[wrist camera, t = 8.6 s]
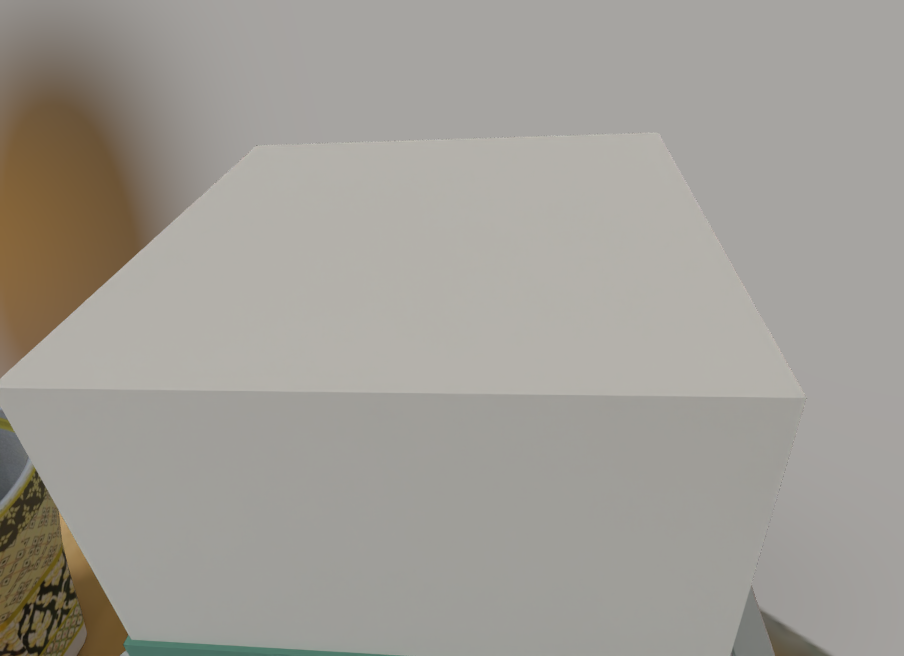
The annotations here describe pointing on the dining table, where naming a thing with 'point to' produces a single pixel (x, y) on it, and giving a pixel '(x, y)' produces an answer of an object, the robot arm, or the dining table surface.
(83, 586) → the dining table surface
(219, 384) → the labelled box
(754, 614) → the robot arm
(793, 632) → the dining table surface
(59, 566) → the ceramic cup
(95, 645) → the dining table surface
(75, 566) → the dining table surface
